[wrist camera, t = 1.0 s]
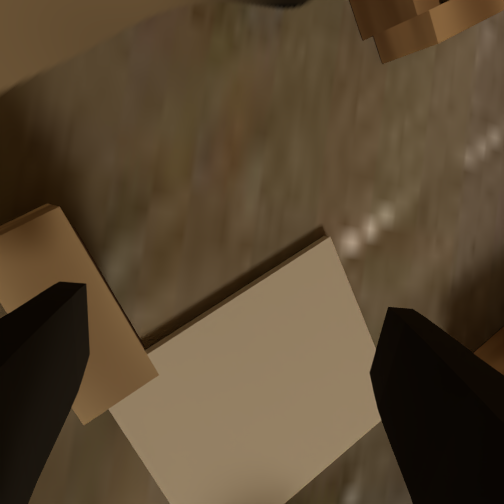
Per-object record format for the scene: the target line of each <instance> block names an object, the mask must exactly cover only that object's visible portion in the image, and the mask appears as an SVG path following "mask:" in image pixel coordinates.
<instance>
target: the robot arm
mask: <svg viewBox="0 0 504 504" xmlns="http://www.w3.org/2000/svg"><path fill="white" fill-rule="evenodd" d="M89 356H90V347H89V326H88V305H87V285H86V283H74V282H61V281H59V282H58V283H56V284H54V285H52V286H51V287H49V288H47V289H46V290H44V291H43V292H41V293H40V294H38V295H37V296H35V297H33V298H32V299H30V300H29V301H27V302H26V303H24V304H23V305H21V306H19V307H18V308H16V309H15V310H13V311H12V312H10V313H8V314H7V315H5V316H4V317H2V318H0V504H28V502H29V500H30V497H31V495H32V493H33V490H34V488H35V485H36V483H37V480H38V478H39V476H40V474H41V472H42V470H43V468H44V465H45V463H46V461H47V459H48V457H49V455H50V452H51V450H52V448H53V446H54V444H55V442H56V440H57V437H58V435H59V433H60V431H61V429H62V427H63V425H64V422H65V420H66V418H67V416H68V414H69V411H70V409H71V407H72V405H73V403H74V401H75V398H76V396H77V394H78V391H79V388H80V385H81V382H82V379H83V376H84V372H85V369H86V366H87V362H88V359H89ZM370 378H371V383H372V387H373V392H374V396H375V400H376V405H377V409H378V412H379V415H380V417H381V420H382V423H383V426H384V428H385V431H386V434H387V436H388V439H389V442H390V444H391V447H392V449H393V452H394V455H395V457H396V460H397V462H398V465H399V468H400V470H401V473H402V475H403V478H404V481H405V483H406V486H407V488H408V491H409V494H410V496H411V499H412V502H413V504H504V375H503V374H501V373H500V372H499V371H497V370H496V369H494V368H493V367H492V366H490V365H489V364H487V363H486V362H485V361H483V360H482V359H480V358H479V357H478V356H476V355H475V354H474V353H472V352H471V351H470V350H468V349H467V348H466V347H464V346H463V345H462V344H460V343H459V342H458V341H456V340H455V339H454V338H452V337H451V336H450V335H448V334H447V333H446V332H444V331H443V330H442V329H441V328H439V327H438V326H437V325H435V324H434V323H432V322H431V321H430V320H428V319H427V318H426V317H424V316H423V315H421V314H420V313H418V312H417V311H415V310H413V309H407V308H394V307H388V310H387V313H386V317H385V320H384V324H383V327H382V331H381V334H380V338H379V341H378V345H377V348H376V352H375V355H374V359H373V362H372V366H371V369H370Z"/></svg>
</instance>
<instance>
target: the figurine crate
mask: <svg viewBox="0 0 504 504" xmlns="http://www.w3.org/2000/svg"><path fill="white" fill-rule="evenodd" d="M474 354H475V355H476V356H478V357H479V358H480V359H482V360H483V361H485V362H486V363H487V364H489V365H490V366H492V367H493V368H494V369H496V370H497V371H499V372H500V373H501V374H503V375H504V327H502V328H501V329H500V330H499V331H498V332H497V333H496V334H494V335H493V336H492V337H491V338H490V339H489V340H488V341H486V342H485V343H484V344H483V345H482V346H481V347H480V348H478V349H477V350H476V351H475V352H474Z"/></svg>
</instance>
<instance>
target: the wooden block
mask: <svg viewBox="0 0 504 504" xmlns="http://www.w3.org/2000/svg"><path fill="white" fill-rule="evenodd" d="M59 281H61V282H74V283H86V285H87V305H88V326H89V347H90V356H89V359H88V362H87V366H86V369H85V372H84V376H83V379H82V382H81V385H80V388H79V391H78V394H77V396H76V398H75V401H74V403H73V405H72V409H73V410H74V412H75V413H76V415H77V416H78V418H79V419H80V421H81V422H82V424H83V425H85V424H87V423H88V422H90V421H91V420H93V419H94V418H96V417H97V416H99V415H100V414H102V413H103V412H105V411H106V410H108V409H109V408H111V407H112V406H114V405H115V404H117V403H118V402H120V401H121V400H123V399H124V398H126V397H127V396H129V395H130V394H132V393H133V392H135V391H136V390H138V389H139V388H141V387H142V386H144V385H145V384H146V383H148V382H149V381H151V380H152V379H154V378H155V377H157V376H158V375H159V374H158V372H157V370H156V369H155V367H154V365H153V364H152V362H151V360H150V359H149V357H148V355H147V353H146V352H145V350H144V348H143V347H144V344H143V343H142V341H141V339H140V338H139V336H138V334H137V333H136V331H135V329H134V328H133V326H132V324H131V322H130V321H129V319H128V317H127V316H126V314H125V312H124V311H123V309H122V307H121V305H120V304H119V302H118V300H117V299H116V297H115V295H114V294H113V292H112V290H111V288H110V287H109V285H108V283H107V282H106V280H105V278H104V277H103V275H102V273H101V272H100V270H99V268H98V266H97V265H96V263H95V261H94V260H93V258H92V256H91V255H90V253H89V251H88V249H87V248H86V246H85V244H84V243H83V241H82V239H81V238H80V236H79V234H78V232H77V231H76V229H75V228H74V227H72V226H71V225H70V223H69V222H68V220H67V218H66V216H65V215H64V213H63V211H62V210H61V208H60V206H56V205H52V204H48V203H47V204H45V205H42V206H40V207H38V208H36V209H34V210H32V211H30V212H28V213H26V214H24V215H22V216H20V217H18V218H15V219H13V220H11V221H9V222H7V223H5V224H3V225H1V226H0V303H1V305H2V306H3V308H4V309H5V311H6V312H7V313H10V312H12V311H13V310H15V309H16V308H18V307H19V306H21V305H23V304H24V303H26V302H27V301H29V300H30V299H32V298H33V297H35V296H37V295H38V294H40V293H41V292H43V291H44V290H46V289H47V288H49V287H51V286H52V285H54V284H56V283H58V282H59Z"/></svg>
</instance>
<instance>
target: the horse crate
mask: <svg viewBox="0 0 504 504" xmlns="http://www.w3.org/2000/svg"><path fill="white" fill-rule="evenodd" d="M349 1H350V4H351V7H352V10H353V13H354V16H355V19H356V22H357V25H358V28H359V31H360V34H361V37H362V40H365V39H368V38H370V37H372V36H374V39H375V43H376V46H377V49H378V52H379V55H380V58H381V61H382V64H384V63H387V62H389V61H392V60H395V59H397V58H400V57H403V56H406V55H408V54H411V53H414V52H417V51H419V50H422V49H425V48H427V47H430V46H433V45H436V44H438V43H440V42H442V41H444V40H446V39H448V38H450V37H452V36H454V35H456V34H458V33H460V32H462V31H464V30H466V29H468V28H470V27H471V26H473V25H475V24H477V23H479V22H481V21H483V20H485V19H487V18H489V17H491V16H493V15H495V14H497V13H499V12H501V11H503V10H504V0H448V1H446V2H444V3H442V4H440V3H439V0H349Z"/></svg>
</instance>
